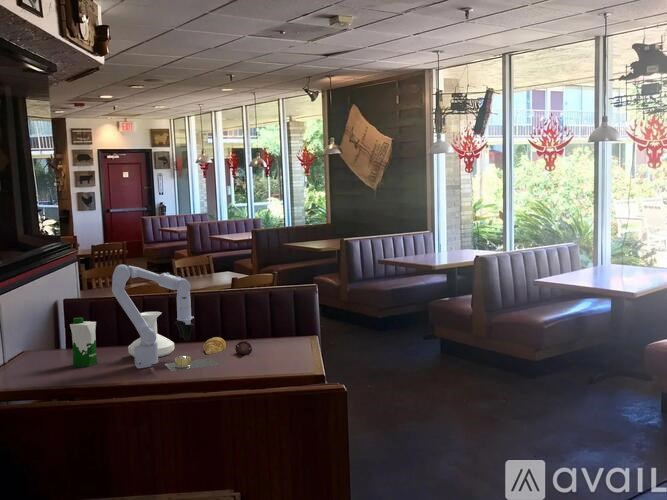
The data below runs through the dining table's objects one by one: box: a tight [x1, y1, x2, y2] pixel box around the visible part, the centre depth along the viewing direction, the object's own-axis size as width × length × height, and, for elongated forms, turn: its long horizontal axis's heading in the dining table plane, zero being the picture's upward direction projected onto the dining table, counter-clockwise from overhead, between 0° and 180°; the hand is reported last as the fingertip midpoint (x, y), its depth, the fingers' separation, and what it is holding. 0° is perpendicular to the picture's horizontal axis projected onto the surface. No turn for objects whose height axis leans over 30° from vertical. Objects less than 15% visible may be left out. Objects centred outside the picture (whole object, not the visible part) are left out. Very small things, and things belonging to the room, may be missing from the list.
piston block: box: [164, 355, 221, 372], centre depth 280 cm, size 20×14×5 cm
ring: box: [174, 355, 192, 367], centre depth 277 cm, size 6×6×3 cm
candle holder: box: [127, 311, 175, 358], centre depth 302 cm, size 20×20×19 cm
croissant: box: [203, 336, 227, 355], centre depth 308 cm, size 21×10×8 cm, turn 174°
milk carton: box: [69, 316, 98, 368], centre depth 289 cm, size 9×9×20 cm
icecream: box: [235, 340, 253, 356], centre depth 298 cm, size 7×7×15 cm
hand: (185, 338), depth 289 cm, fingers open, 7 cm apart
